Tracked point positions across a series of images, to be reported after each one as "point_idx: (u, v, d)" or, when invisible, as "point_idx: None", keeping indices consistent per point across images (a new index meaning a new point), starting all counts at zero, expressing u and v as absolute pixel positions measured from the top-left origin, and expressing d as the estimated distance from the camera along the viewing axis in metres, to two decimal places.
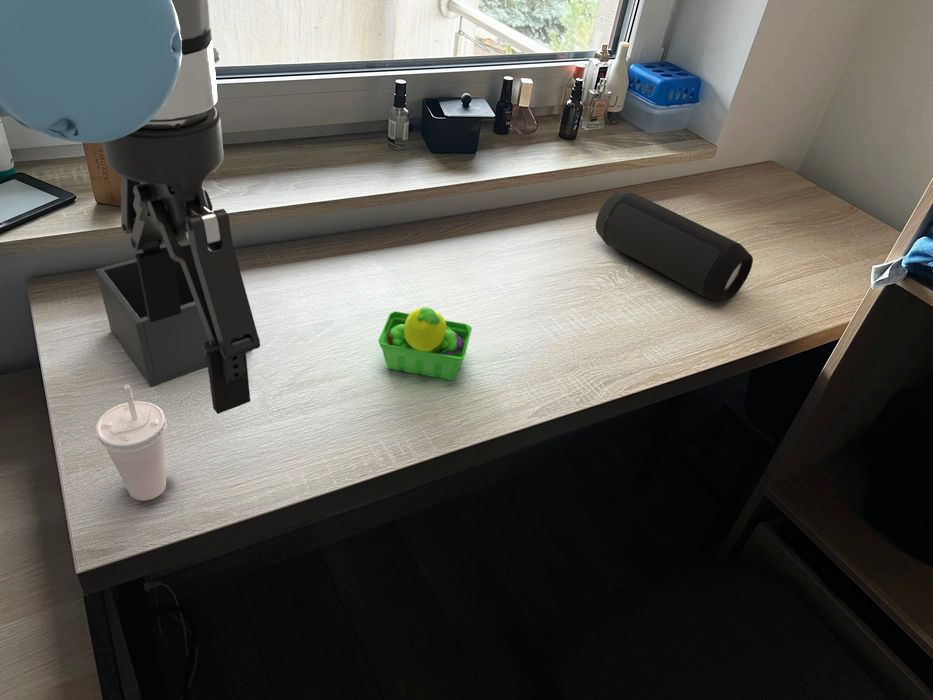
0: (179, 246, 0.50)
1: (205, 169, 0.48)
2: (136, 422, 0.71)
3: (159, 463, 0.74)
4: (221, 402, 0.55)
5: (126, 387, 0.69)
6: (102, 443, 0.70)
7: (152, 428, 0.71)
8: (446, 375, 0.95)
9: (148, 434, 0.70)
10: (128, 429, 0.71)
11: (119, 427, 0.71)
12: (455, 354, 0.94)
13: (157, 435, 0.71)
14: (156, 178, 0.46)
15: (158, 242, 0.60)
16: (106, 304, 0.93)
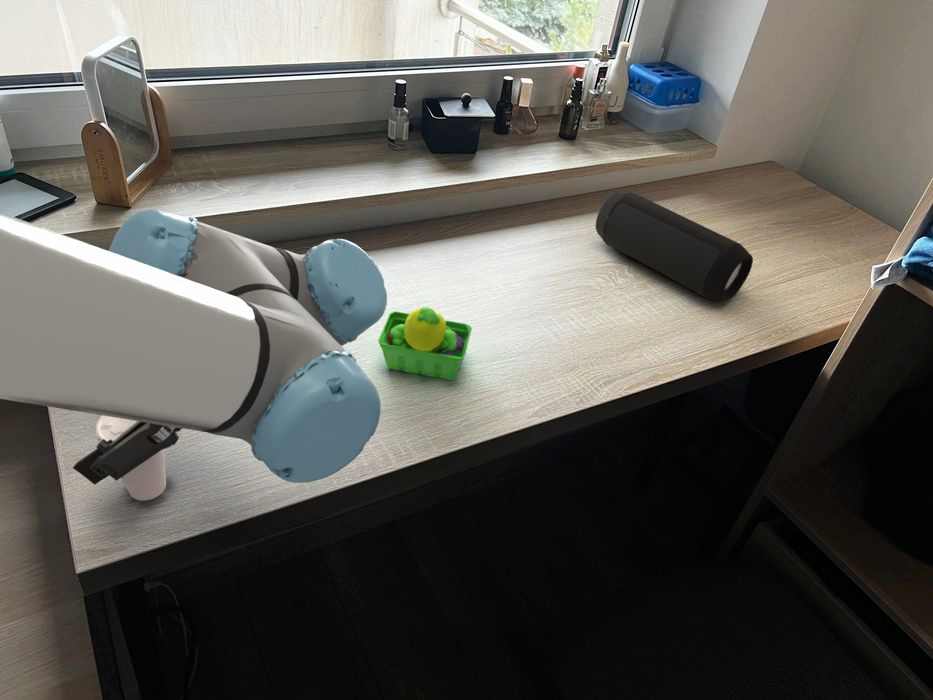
0: None
1: None
2: None
3: (159, 463, 0.74)
4: (81, 466, 0.71)
5: None
6: None
7: None
8: (446, 375, 0.95)
9: None
10: None
11: (119, 427, 0.71)
12: (455, 354, 0.94)
13: None
14: None
15: None
16: None
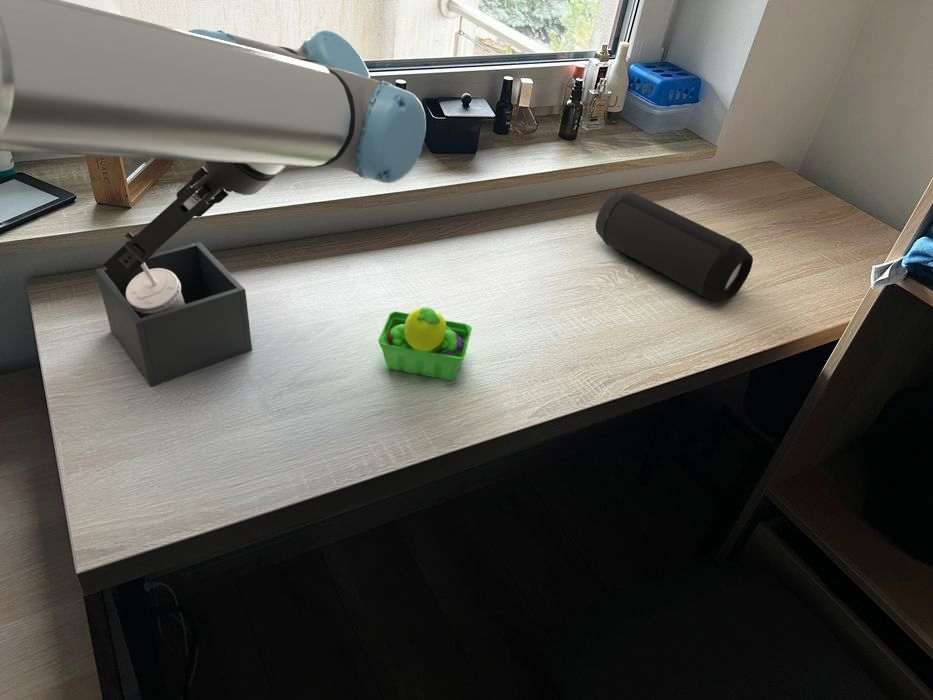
0: None
1: (228, 185, 0.77)
2: (156, 287, 0.88)
3: None
4: (110, 263, 0.82)
5: None
6: (133, 306, 0.87)
7: (169, 292, 0.87)
8: (446, 375, 0.95)
9: (166, 297, 0.87)
10: (150, 294, 0.87)
11: (143, 293, 0.87)
12: (455, 354, 0.94)
13: (174, 297, 0.88)
14: (207, 162, 0.76)
15: None
16: (106, 304, 0.93)
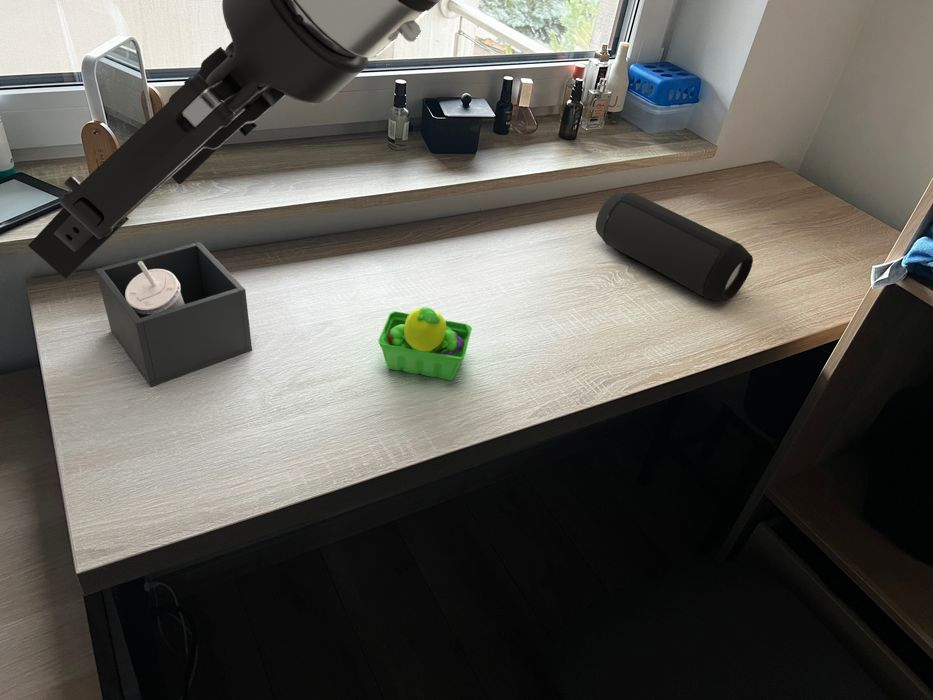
0: None
1: (276, 79, 0.37)
2: (155, 288, 0.87)
3: None
4: (41, 242, 0.42)
5: (139, 263, 0.84)
6: (132, 308, 0.87)
7: (169, 293, 0.87)
8: (446, 375, 0.95)
9: (166, 298, 0.87)
10: (150, 295, 0.87)
11: (143, 294, 0.87)
12: (455, 354, 0.94)
13: (174, 297, 0.88)
14: (232, 27, 0.36)
15: None
16: (106, 304, 0.93)
